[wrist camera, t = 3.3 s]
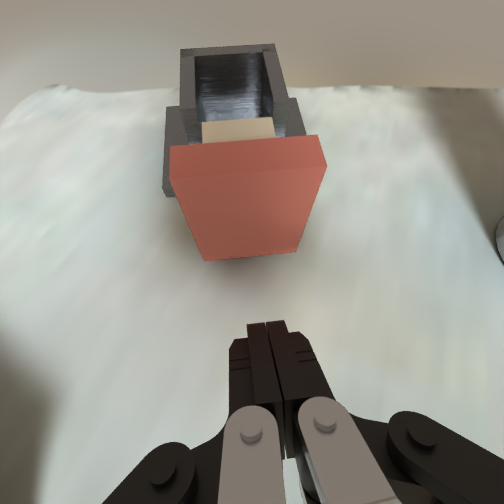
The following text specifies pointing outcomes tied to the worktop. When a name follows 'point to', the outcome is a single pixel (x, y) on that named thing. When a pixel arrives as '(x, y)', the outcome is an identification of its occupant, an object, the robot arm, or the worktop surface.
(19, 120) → the worktop surface
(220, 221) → the red plug
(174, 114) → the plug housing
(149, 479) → the robot arm
